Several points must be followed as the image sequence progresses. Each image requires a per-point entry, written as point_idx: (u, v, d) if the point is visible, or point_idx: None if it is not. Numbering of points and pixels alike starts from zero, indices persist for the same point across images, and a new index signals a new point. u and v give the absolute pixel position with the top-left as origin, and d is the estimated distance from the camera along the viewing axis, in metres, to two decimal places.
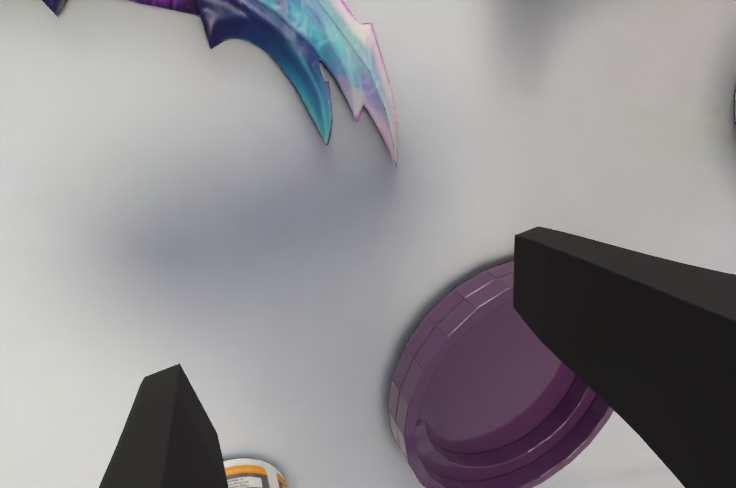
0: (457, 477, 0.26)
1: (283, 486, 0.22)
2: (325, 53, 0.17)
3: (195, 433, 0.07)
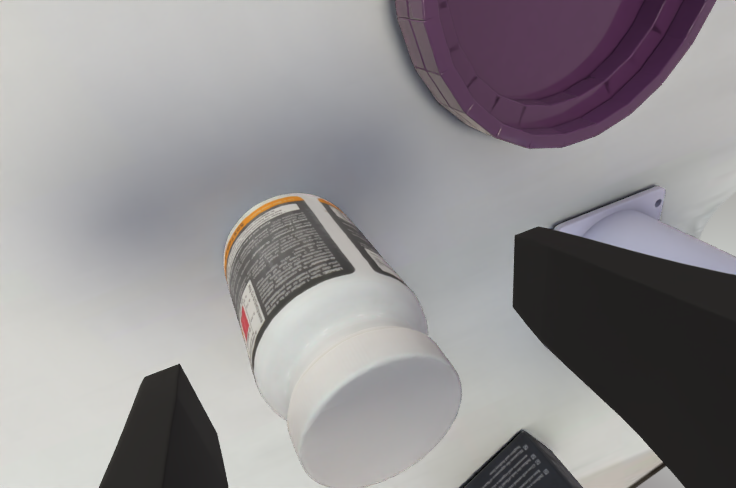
0: (544, 123, 0.20)
1: (330, 206, 0.18)
2: None
3: (195, 433, 0.07)
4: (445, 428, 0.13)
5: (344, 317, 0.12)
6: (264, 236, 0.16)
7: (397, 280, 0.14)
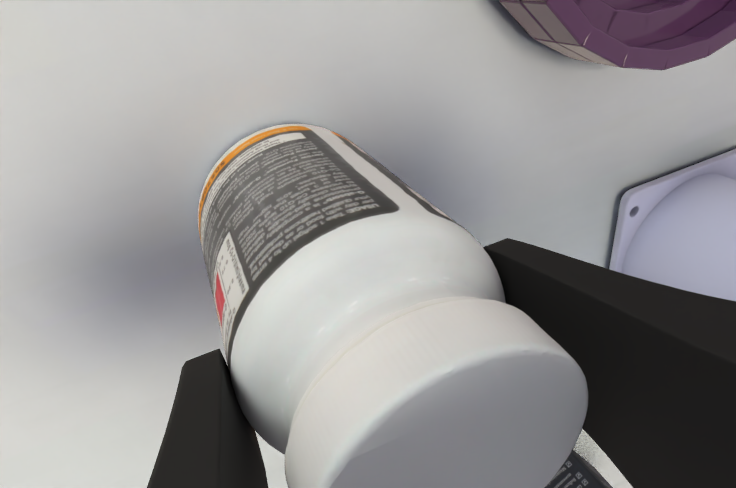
0: (637, 39, 0.15)
1: (349, 141, 0.13)
2: None
3: (238, 415, 0.08)
4: (551, 473, 0.08)
5: (386, 282, 0.07)
6: (253, 172, 0.10)
7: (464, 229, 0.09)
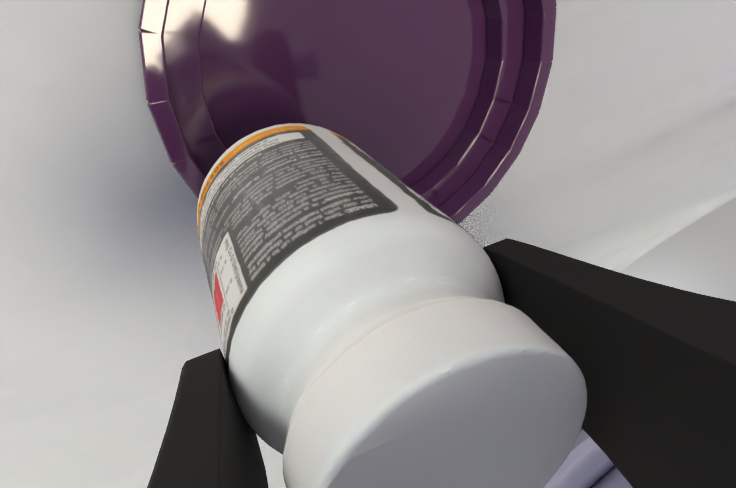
0: None
1: (348, 140, 0.13)
2: None
3: (238, 415, 0.08)
4: (550, 473, 0.08)
5: (384, 282, 0.07)
6: (252, 171, 0.10)
7: (463, 229, 0.09)
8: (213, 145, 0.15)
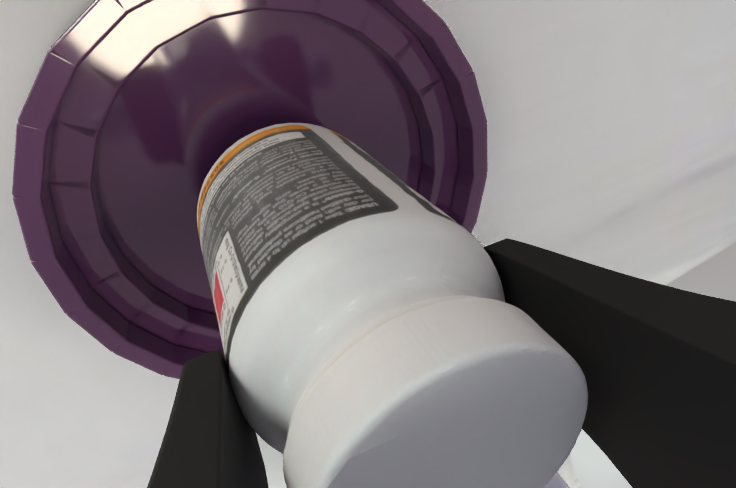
0: None
1: (348, 140, 0.13)
2: None
3: (238, 415, 0.08)
4: (551, 473, 0.08)
5: (384, 281, 0.07)
6: (252, 171, 0.10)
7: (464, 228, 0.09)
8: (118, 282, 0.14)
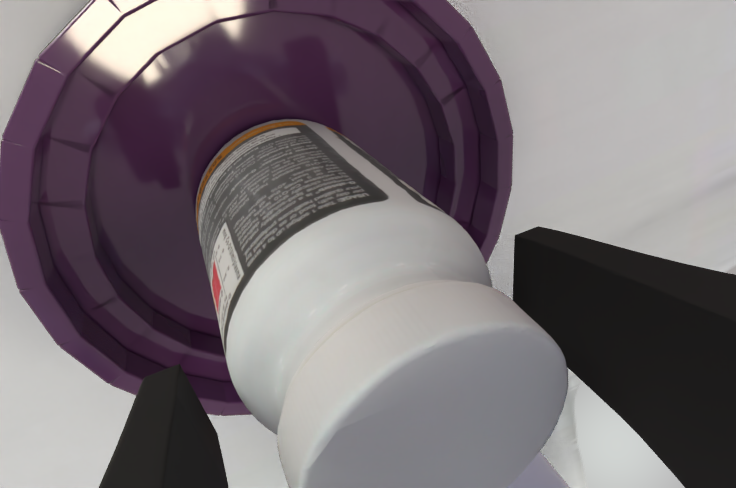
0: None
1: (343, 136, 0.13)
2: None
3: (195, 433, 0.07)
4: (534, 451, 0.08)
5: (374, 266, 0.07)
6: (249, 165, 0.11)
7: (452, 218, 0.09)
8: (116, 307, 0.13)
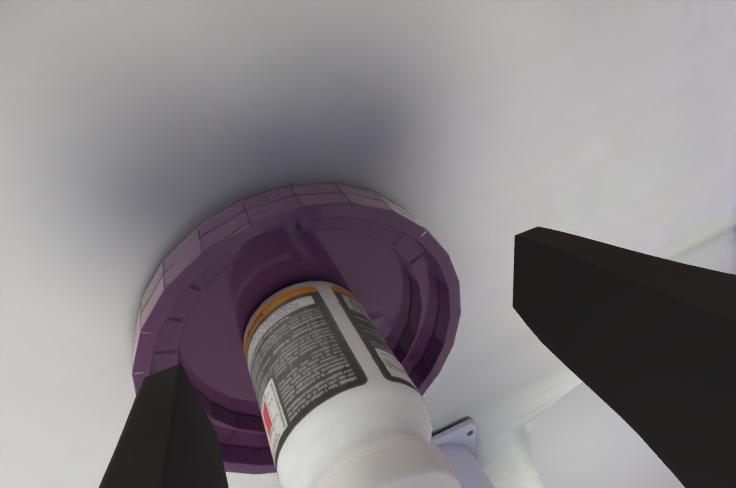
0: None
1: (342, 295, 0.20)
2: None
3: (195, 433, 0.07)
4: None
5: (358, 428, 0.14)
6: (284, 333, 0.17)
7: (404, 385, 0.15)
8: None
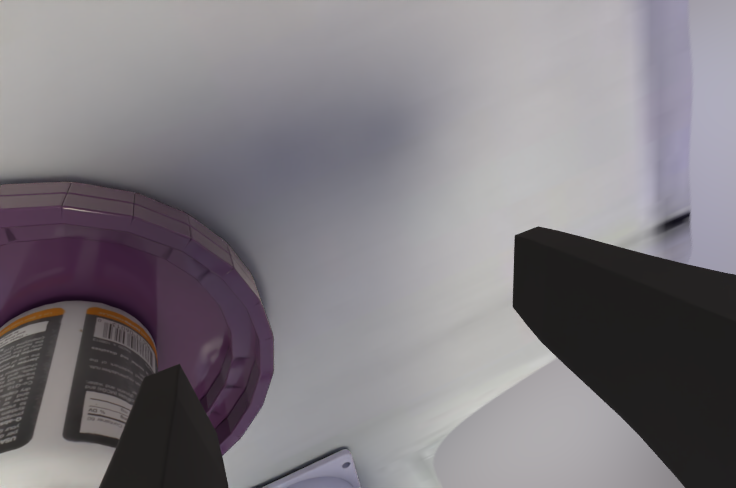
0: None
1: (99, 318, 0.16)
2: None
3: (195, 433, 0.07)
4: None
5: None
6: None
7: (95, 444, 0.12)
8: None
